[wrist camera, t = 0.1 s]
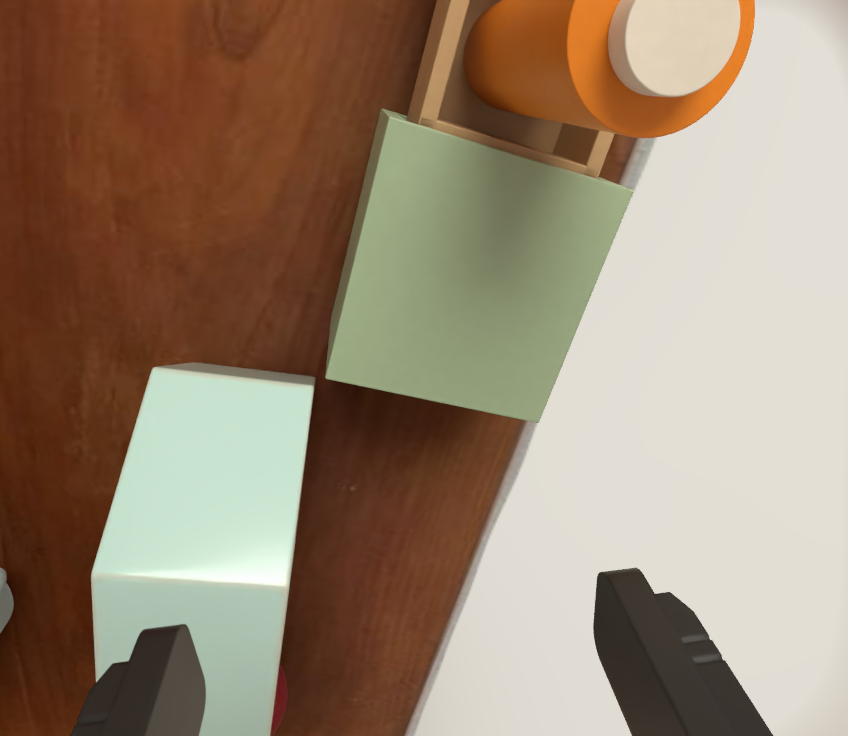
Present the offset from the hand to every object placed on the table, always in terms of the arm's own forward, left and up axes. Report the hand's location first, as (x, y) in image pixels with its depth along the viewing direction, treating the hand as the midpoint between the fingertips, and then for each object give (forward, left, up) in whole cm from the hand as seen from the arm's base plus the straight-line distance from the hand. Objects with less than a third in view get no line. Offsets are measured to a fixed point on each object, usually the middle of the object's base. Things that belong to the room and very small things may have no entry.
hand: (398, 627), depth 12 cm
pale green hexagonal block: (+12, -9, -28) cm, 32 cm away
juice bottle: (-10, +9, -26) cm, 29 cm away
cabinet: (0, +5, -28) cm, 29 cm away
